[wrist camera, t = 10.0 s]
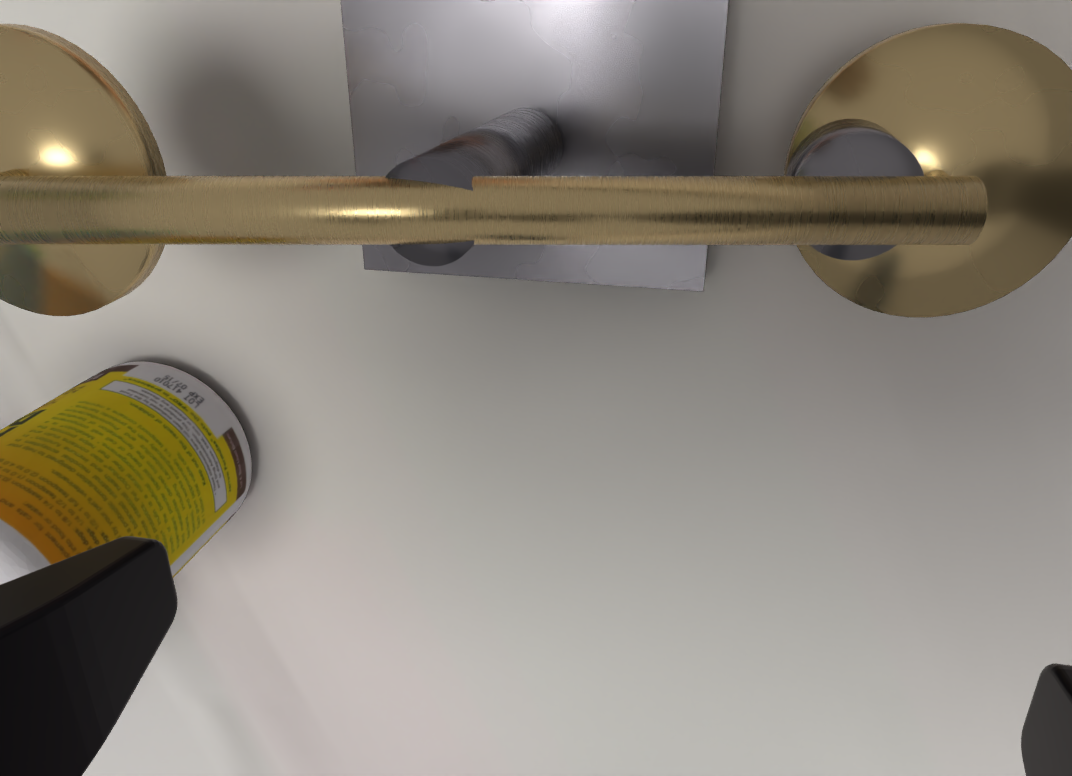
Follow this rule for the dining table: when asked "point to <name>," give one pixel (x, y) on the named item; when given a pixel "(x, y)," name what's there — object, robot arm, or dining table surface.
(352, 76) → the balance
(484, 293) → the dining table surface
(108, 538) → the supplement bottle
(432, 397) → the dining table surface
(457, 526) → the dining table surface
